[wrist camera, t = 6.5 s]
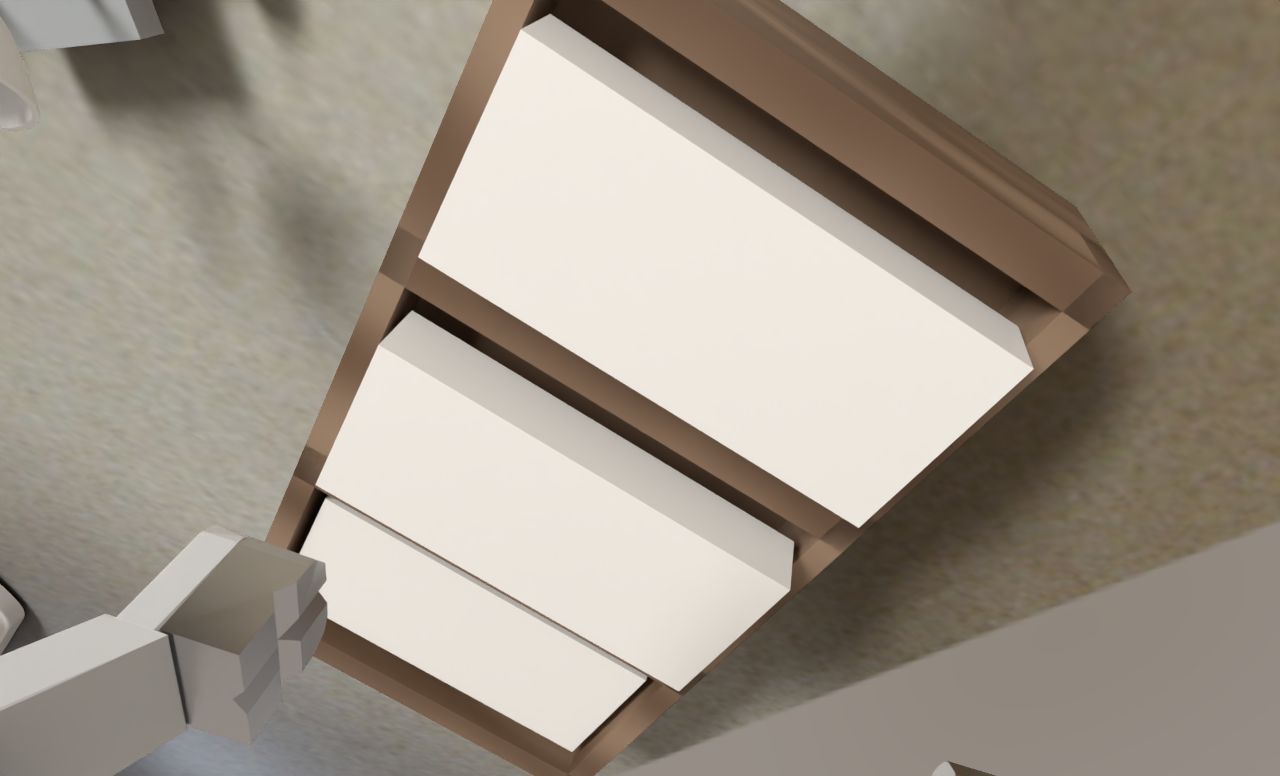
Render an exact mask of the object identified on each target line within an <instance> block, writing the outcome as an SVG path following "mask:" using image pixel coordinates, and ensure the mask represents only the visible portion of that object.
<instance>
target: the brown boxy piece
mask: <svg viewBox="0 0 1280 776" xmlns="http://www.w3.org/2000/svg"><path fill="white" fill-rule="evenodd" d="M549 14H551V15H553V16H554V17H556V18H557V19H559V20H560V21H562V22H563V23H565V24H566V25H568V26H569V27H571V28H572V29H574V30H575V31H577V32H578V33H580V34H581V35H583V36H584V37H586V38H587V39H589V40H590V41H592V42H593V43H595V44H596V45H598V46H599V47H601V48H602V49H604V50H605V51H607V52H608V53H610V54H611V55H613V56H614V57H616V58H617V59H619V60H620V61H622V62H623V63H625V64H626V65H628V66H629V67H631V68H632V69H634V70H635V71H637V72H638V73H640V74H641V75H643V76H644V77H646V78H647V79H649V80H650V81H652V82H653V83H655V84H656V85H658V86H659V87H661V88H662V89H664V90H665V91H667V92H668V93H670V94H671V95H673V96H674V97H676V98H677V99H679V100H680V101H682V102H683V103H685V104H686V105H688V106H689V107H691V108H692V109H694V110H695V111H697V112H698V113H700V114H701V115H703V116H704V117H706V118H707V119H709V120H710V121H711V122H713V123H714V124H716V125H717V126H719V127H720V128H722V129H723V130H725V131H726V132H728V133H729V134H731V135H732V136H734V137H735V138H737V139H738V140H740V141H741V142H743V143H744V144H746V145H747V146H749V147H750V148H752V149H753V150H755V151H756V152H758V153H759V154H761V155H762V156H764V157H765V158H767V159H768V160H770V161H771V162H773V163H774V164H776V165H777V166H779V167H780V168H782V169H783V170H785V171H786V172H788V173H789V174H791V175H792V176H794V177H795V178H797V179H798V180H800V181H801V182H803V183H804V184H806V185H807V186H809V187H810V188H812V189H813V190H815V191H816V192H818V193H819V194H821V195H822V196H824V197H825V198H827V199H828V200H830V201H831V202H833V203H834V204H836V205H837V206H839V207H840V208H842V209H843V210H845V211H846V212H848V213H849V214H851V215H852V216H854V217H855V218H857V219H858V220H860V221H861V222H863V223H864V224H866V225H867V226H869V227H870V228H872V229H873V230H875V231H876V232H878V233H879V234H881V235H882V236H884V237H885V238H887V239H888V240H890V241H891V242H893V243H894V244H896V245H897V246H899V247H900V248H902V249H903V250H905V251H906V252H908V253H909V254H911V255H912V256H914V257H915V258H917V259H918V260H920V261H921V262H922V263H924V264H925V265H927V266H928V267H930V268H931V269H933V270H934V271H936V272H937V273H939V274H940V275H942V276H943V277H945V278H946V279H948V280H949V281H951V282H952V283H954V284H955V285H957V286H958V287H960V288H961V289H963V290H964V291H966V292H967V293H969V294H970V295H972V296H973V297H975V298H976V299H978V300H979V301H981V302H982V303H984V304H985V305H987V306H988V307H990V308H991V309H993V310H994V311H996V312H997V313H999V314H1000V315H1002V316H1003V317H1005V318H1006V319H1008V320H1009V321H1011V322H1012V323H1014V324H1015V325H1017V326H1018V327H1019V330H1020V333H1021V335H1022V338H1023V341H1024V344H1025V346H1026V349H1027V352H1028V355H1029V357H1030V360H1031V363H1032V366H1033V368H1034V369H1033V370H1032V371H1031V372H1030V373H1029V374H1028V375H1027V376H1025V377H1024V378H1023V379H1022V380H1021V381H1020V382H1019V383H1018V384H1017V385H1016V386H1014V387H1013V388H1012V389H1011V390H1010V391H1009V392H1008V393H1007V394H1006V395H1005V396H1003V397H1002V398H1001V399H1000V400H999V401H998V402H997V403H996V404H995V405H994V406H992V407H991V408H990V409H989V410H988V411H987V412H986V413H985V414H984V415H983V416H981V417H980V418H979V419H978V420H977V421H976V422H975V423H974V424H973V425H972V426H970V427H969V428H968V429H967V430H966V431H965V432H964V433H963V434H962V435H961V436H959V437H958V438H957V439H956V440H955V441H954V442H953V443H952V444H951V445H950V446H948V447H947V448H946V449H945V450H944V451H943V452H942V453H941V454H940V455H939V456H937V457H936V458H935V459H934V460H933V461H932V462H931V463H930V464H929V465H928V466H926V467H925V468H924V469H923V470H922V471H921V472H920V473H919V474H918V475H917V476H915V477H914V478H913V479H912V480H911V481H910V482H909V483H908V484H907V485H906V486H904V487H903V488H902V489H901V490H900V491H899V492H898V493H897V494H896V495H895V496H893V497H892V498H891V499H890V500H889V501H888V502H887V503H886V504H885V505H884V506H882V507H881V508H880V509H879V510H878V511H877V512H876V513H875V514H874V515H873V516H871V517H870V518H869V519H868V520H867V521H866V522H865V523H864V524H863V525H862V526H860V527H859V528H858V527H856V526H855V525H853V524H851V523H850V522H848V521H847V520H845V519H843V518H842V517H840V516H838V515H837V514H835V513H834V512H832V511H830V510H829V509H827V508H825V507H824V506H822V505H821V504H819V503H817V502H816V501H814V500H812V499H811V498H809V497H808V496H806V495H804V494H803V493H801V492H799V491H798V490H796V489H795V488H793V487H791V486H790V485H788V484H786V483H785V482H783V481H781V480H780V479H778V478H777V477H775V476H773V475H772V474H770V473H768V472H767V471H765V470H764V469H762V468H760V467H759V466H757V465H755V464H754V463H752V462H751V461H749V460H747V459H746V458H744V457H742V456H741V455H739V454H738V453H736V452H734V451H733V450H731V449H729V448H728V447H726V446H725V445H723V444H721V443H720V442H718V441H716V440H715V439H713V438H712V437H710V436H708V435H707V434H705V433H703V432H702V431H700V430H698V429H697V428H695V427H694V426H692V425H690V424H689V423H687V422H685V421H684V420H682V419H681V418H679V417H677V416H676V415H674V414H672V413H671V412H669V411H668V410H666V409H664V408H663V407H661V406H659V405H658V404H656V403H655V402H653V401H651V400H650V399H648V398H646V397H645V396H643V395H642V394H640V393H638V392H637V391H635V390H633V389H632V388H630V387H629V386H627V385H625V384H624V383H622V382H620V381H619V380H617V379H615V378H614V377H612V376H611V375H609V374H607V373H606V372H604V371H602V370H601V369H599V368H598V367H596V366H594V365H593V364H591V363H589V362H588V361H586V360H585V359H583V358H581V357H580V356H578V355H576V354H575V353H573V352H572V351H570V350H568V349H567V348H565V347H563V346H562V345H560V344H559V343H557V342H555V341H554V340H552V339H550V338H549V337H547V336H546V335H544V334H542V333H541V332H539V331H537V330H536V329H534V328H532V327H531V326H529V325H528V324H526V323H524V322H523V321H521V320H519V319H518V318H516V317H515V316H513V315H511V314H510V313H508V312H506V311H505V310H503V309H502V308H500V307H498V306H497V305H495V304H493V303H492V302H490V301H489V300H487V299H485V298H484V297H482V296H480V295H479V294H477V293H476V292H474V291H472V290H471V289H469V288H467V287H466V286H464V285H463V284H461V283H459V282H458V281H456V280H454V279H453V278H451V277H449V276H448V275H446V274H445V273H443V272H441V271H440V270H438V269H436V268H435V267H433V266H432V265H430V264H428V263H427V262H425V261H423V260H422V259H420V258H419V257H418V256H419V254H420V252H421V249H422V247H423V245H424V243H425V240H426V238H427V236H428V234H429V232H430V229H431V227H432V225H433V223H434V220H435V218H436V216H437V214H438V212H439V209H440V207H441V205H442V203H443V201H444V198H445V196H446V194H447V192H448V189H449V187H450V185H451V183H452V181H453V178H454V176H455V174H456V172H457V169H458V167H459V165H460V163H461V161H462V158H463V156H464V154H465V152H466V149H467V147H468V145H469V143H470V141H471V138H472V136H473V134H474V132H475V130H476V127H477V125H478V123H479V121H480V118H481V116H482V114H483V112H484V110H485V107H486V105H487V103H488V101H489V98H490V96H491V94H492V92H493V90H494V87H495V85H496V83H497V81H498V78H499V76H500V74H501V72H502V70H503V67H504V65H505V63H506V61H507V59H508V56H509V54H510V52H511V50H512V47H513V45H514V43H515V41H516V39H517V36H518V34H519V32H520V30H521V29H522V28H524V27H526V26H528V25H530V24H532V23H534V22H536V21H538V20H540V19H542V18H543V17H545V16H547V15H549ZM1130 293H1131V290H1130V289H1129V287H1128V285H1127V284H1126V282H1125V281H1124V279H1123V278H1122V276H1121V275H1120V273H1119V272H1118V270H1117V269H1116V267H1115V266H1114V264H1113V263H1112V261H1111V259H1110V258H1109V256H1108V255H1107V253H1106V252H1105V250H1104V249H1103V247H1102V246H1101V244H1100V243H1099V241H1098V240H1097V238H1096V236H1095V235H1094V233H1093V232H1092V230H1091V229H1090V227H1089V226H1088V224H1087V223H1086V221H1085V220H1084V218H1083V217H1082V215H1081V214H1080V212H1079V210H1078V209H1077V207H1075V206H1074V205H1072V204H1071V203H1070V202H1068V201H1067V200H1065V199H1064V198H1062V197H1061V196H1059V195H1058V194H1057V193H1055V192H1054V191H1052V190H1051V189H1049V188H1048V187H1047V186H1045V185H1044V184H1042V183H1041V182H1039V181H1038V180H1037V179H1035V178H1034V177H1032V176H1031V175H1029V174H1028V173H1026V172H1025V171H1024V170H1022V169H1021V168H1019V167H1018V166H1016V165H1015V164H1014V163H1012V162H1011V161H1009V160H1008V159H1006V158H1005V157H1004V156H1002V155H1001V154H999V153H998V152H996V151H995V150H993V149H992V148H991V147H989V146H988V145H986V144H985V143H983V142H982V141H981V140H979V139H978V138H976V137H975V136H973V135H972V134H971V133H969V132H968V131H966V130H965V129H963V128H962V127H960V126H959V125H958V124H956V123H955V122H953V121H952V120H950V119H949V118H948V117H946V116H945V115H943V114H942V113H940V112H939V111H938V110H936V109H935V108H933V107H932V106H930V105H929V104H927V103H926V102H925V101H923V100H922V99H920V98H919V97H917V96H916V95H915V94H913V93H912V92H910V91H909V90H907V89H906V88H904V87H903V86H902V85H900V84H899V83H897V82H896V81H894V80H893V79H892V78H890V77H889V76H887V75H886V74H884V73H883V72H882V71H880V70H879V69H877V68H876V67H874V66H873V65H871V64H870V63H869V62H867V61H866V60H864V59H863V58H861V57H860V56H859V55H857V54H856V53H854V52H853V51H851V50H850V49H849V48H847V47H846V46H844V45H843V44H841V43H840V42H838V41H837V40H836V39H834V38H833V37H831V36H830V35H828V34H827V33H826V32H824V31H823V30H821V29H820V28H818V27H817V26H816V25H814V24H813V23H811V22H810V21H808V20H807V19H805V18H804V17H803V16H801V15H800V14H798V13H797V12H795V11H794V10H793V9H791V8H790V7H788V6H787V5H785V4H784V3H783V2H781V1H780V0H493V2H492V4H491V6H490V9H489V11H488V13H487V16H486V18H485V21H484V23H483V25H482V28H481V30H480V32H479V35H478V37H477V40H476V42H475V44H474V47H473V49H472V51H471V54H470V56H469V59H468V61H467V63H466V66H465V68H464V70H463V73H462V75H461V78H460V80H459V82H458V85H457V87H456V89H455V92H454V94H453V96H452V99H451V101H450V104H449V106H448V108H447V111H446V113H445V115H444V118H443V120H442V123H441V125H440V127H439V130H438V132H437V134H436V137H435V139H434V142H433V144H432V146H431V149H430V151H429V153H428V156H427V158H426V161H425V163H424V165H423V168H422V170H421V172H420V175H419V177H418V180H417V182H416V184H415V187H414V189H413V191H412V194H411V196H410V198H409V201H408V203H407V206H406V208H405V210H404V213H403V215H402V217H401V220H400V222H399V225H398V227H397V229H396V232H395V234H394V236H393V239H392V241H391V244H390V246H389V248H388V251H387V253H386V255H385V258H384V260H383V263H382V265H381V267H380V270H379V272H378V274H377V277H376V279H375V282H374V284H373V286H372V289H371V291H370V293H369V296H368V298H367V301H366V303H365V305H364V308H363V310H362V312H361V315H360V317H359V319H358V322H357V324H356V327H355V329H354V331H353V334H352V336H351V338H350V341H349V343H348V346H347V348H346V350H345V353H344V355H343V357H342V360H341V362H340V365H339V367H338V369H337V372H336V374H335V376H334V379H333V381H332V384H331V386H330V388H329V391H328V393H327V395H326V398H325V400H324V403H323V405H322V407H321V410H320V412H319V414H318V417H317V419H316V421H315V424H314V426H313V429H312V431H311V433H310V436H309V438H308V440H307V443H306V445H305V448H304V450H303V452H302V455H301V457H300V459H299V462H298V464H297V467H296V469H295V471H294V474H293V476H292V478H291V481H290V483H289V486H288V488H287V490H286V493H285V495H284V497H283V500H282V502H281V505H280V507H279V509H278V512H277V514H276V516H275V519H274V521H273V524H272V526H271V528H270V531H269V533H268V535H267V538H266V540H265V542H267V543H270V544H272V545H275V546H278V547H281V548H284V549H287V550H290V551H293V552H296V553H298V554H299V553H300V551H301V549H302V547H303V545H304V543H305V541H306V538H307V536H308V534H309V532H310V530H311V528H312V526H313V524H314V521H315V519H316V517H317V515H318V513H319V511H320V509H321V506H322V504H323V502H324V500H325V498H326V497H327V496H328V495H329V496H331V497H333V498H334V499H336V500H338V501H340V502H341V503H343V504H345V505H347V506H348V507H350V508H352V509H354V510H355V511H357V512H359V513H361V514H363V515H364V516H366V517H368V518H370V519H371V520H373V521H375V522H377V523H378V524H380V525H382V526H384V527H385V528H387V529H389V530H391V531H392V532H394V533H396V534H398V535H400V536H401V537H403V538H405V539H407V540H408V541H410V542H412V543H414V544H415V545H417V546H419V547H421V548H422V549H424V550H426V551H428V552H429V553H431V554H433V555H435V556H437V557H438V558H440V559H442V560H444V561H445V562H447V563H449V564H451V565H452V566H454V567H456V568H458V569H459V570H461V571H463V572H465V573H466V574H468V575H470V576H472V577H474V578H475V579H477V580H479V581H481V582H482V583H484V584H486V585H488V586H489V587H491V588H493V589H495V590H496V591H498V592H500V593H502V594H503V595H505V596H507V597H509V598H511V599H512V600H514V601H516V602H518V603H519V604H521V605H523V606H525V607H526V608H528V609H530V610H532V611H533V612H535V613H537V614H539V615H540V616H542V617H544V618H546V619H548V620H549V621H551V622H553V623H555V624H556V625H558V626H560V627H562V628H563V629H565V630H567V631H569V632H570V633H572V634H574V635H576V636H577V637H579V638H581V639H583V640H585V641H586V642H588V643H590V644H592V645H593V646H595V647H597V648H599V649H600V650H602V651H604V652H606V653H607V654H609V655H611V656H613V657H614V658H616V659H618V660H620V661H622V662H623V663H625V664H627V665H629V666H630V667H632V668H634V669H636V670H637V671H639V672H641V673H643V674H644V675H646V676H647V679H646V681H645V682H644V683H643V684H642V685H641V686H640V687H639V688H638V689H637V690H636V691H635V692H634V693H633V694H632V695H631V696H630V697H629V698H628V699H627V700H625V701H624V702H623V703H622V704H621V705H620V706H619V707H618V708H617V709H616V710H615V711H614V712H613V713H612V714H611V715H610V716H609V717H608V718H607V719H606V720H605V721H604V722H603V723H602V724H601V725H600V726H599V727H597V728H596V729H595V730H594V731H593V732H592V733H591V734H590V735H589V736H588V737H587V738H586V739H585V740H584V741H583V742H582V743H581V744H580V745H579V746H578V747H577V748H576V749H575V750H574V751H573V752H571V751H569V750H567V749H566V748H564V747H562V746H560V745H558V744H556V743H555V742H553V741H551V740H549V739H547V738H545V737H544V736H542V735H540V734H538V733H536V732H535V731H533V730H531V729H529V728H527V727H525V726H524V725H522V724H520V723H518V722H516V721H514V720H513V719H511V718H509V717H507V716H505V715H504V714H502V713H500V712H498V711H496V710H494V709H493V708H491V707H489V706H487V705H485V704H483V703H482V702H480V701H478V700H476V699H474V698H472V697H471V696H469V695H467V694H465V693H463V692H462V691H460V690H458V689H456V688H454V687H452V686H451V685H449V684H447V683H445V682H443V681H441V680H440V679H438V678H436V677H434V676H432V675H431V674H429V673H427V672H425V671H423V670H421V669H420V668H418V667H416V666H414V665H412V664H410V663H409V662H407V661H405V660H403V659H401V658H399V657H398V656H396V655H394V654H392V653H390V652H389V651H387V650H385V649H383V648H381V647H379V646H378V645H376V644H374V643H372V642H370V641H368V640H367V639H365V638H363V637H361V636H359V635H358V634H356V633H354V632H352V631H350V630H348V629H347V628H345V627H343V626H341V625H339V624H337V623H336V622H334V621H332V620H330V619H328V618H327V621H326V625H325V630H324V633H323V635H322V638H321V640H320V642H319V644H318V647H317V649H316V651H315V653H314V655H313V656H314V657H316V658H318V659H320V660H322V661H324V662H325V663H327V664H329V665H331V666H333V667H335V668H337V669H338V670H340V671H342V672H344V673H346V674H348V675H349V676H351V677H353V678H355V679H357V680H359V681H361V682H362V683H364V684H366V685H368V686H370V687H372V688H374V689H375V690H377V691H379V692H381V693H383V694H385V695H386V696H388V697H390V698H392V699H394V700H396V701H398V702H399V703H401V704H403V705H405V706H407V707H409V708H410V709H412V710H414V711H416V712H418V713H420V714H422V715H423V716H425V717H427V718H429V719H431V720H433V721H435V722H436V723H438V724H440V725H442V726H444V727H446V728H447V729H449V730H451V731H453V732H455V733H457V734H459V735H460V736H462V737H464V738H466V739H468V740H470V741H472V742H473V743H475V744H477V745H479V746H481V747H483V748H484V749H486V750H488V751H490V752H492V753H494V754H496V755H497V756H499V757H501V758H503V759H505V760H507V761H509V762H510V763H512V764H514V765H516V766H518V767H520V768H521V769H523V770H525V771H527V772H529V773H531V774H533V775H534V776H594V775H595V774H596V773H597V772H599V771H600V770H601V769H602V768H603V767H604V766H605V765H606V764H607V763H609V762H610V761H611V760H612V759H613V758H614V757H615V756H616V755H617V754H619V753H620V752H621V751H622V750H623V749H624V748H625V747H626V746H627V745H629V744H630V743H631V742H632V741H633V740H634V739H635V738H636V737H637V736H639V735H640V734H641V733H642V732H643V731H644V730H645V729H646V728H648V727H649V726H650V725H651V724H652V723H653V722H654V721H655V720H656V719H658V718H659V717H660V716H661V715H662V714H663V713H664V712H665V711H666V710H668V709H669V708H670V707H671V706H672V705H673V704H674V703H675V702H676V701H678V700H679V699H680V698H681V697H682V696H683V695H684V694H685V693H686V692H688V691H689V690H690V689H691V688H692V687H693V686H694V685H695V684H696V683H698V682H699V681H700V680H701V679H702V678H703V677H704V676H705V675H706V674H708V673H709V672H710V671H711V670H712V669H713V668H714V667H715V666H716V665H718V664H719V663H720V662H721V661H722V660H723V659H724V658H725V657H726V656H728V655H729V654H730V653H731V652H732V651H733V650H734V649H735V648H737V647H738V646H739V645H740V644H741V643H742V642H743V641H744V640H745V639H747V638H748V637H749V636H750V635H751V634H752V633H753V632H754V631H755V630H757V629H758V628H759V627H760V626H761V625H762V624H763V623H764V622H765V621H767V620H768V619H769V618H770V617H771V616H772V615H773V614H774V613H775V612H777V611H778V610H779V609H780V608H781V607H782V606H783V605H784V604H785V603H787V602H788V601H789V600H790V599H791V598H792V597H793V596H794V595H795V594H797V593H798V592H799V591H800V590H801V589H802V588H803V587H804V586H805V585H807V584H808V583H809V582H810V581H811V580H812V579H813V578H814V577H815V576H817V575H818V574H819V573H820V572H821V571H822V570H823V569H824V568H826V567H827V566H828V565H829V564H830V563H831V562H832V561H833V560H834V559H836V558H837V557H838V556H839V555H840V554H841V553H842V552H843V551H844V550H846V549H847V548H848V547H849V546H850V545H851V544H852V543H853V542H854V541H856V540H857V539H858V538H859V537H860V536H861V535H862V534H863V533H864V532H866V531H867V530H868V529H869V528H870V527H871V526H872V525H873V524H874V523H876V522H877V521H878V520H879V519H880V518H881V517H882V516H883V515H884V514H886V513H887V512H888V511H889V510H890V509H891V508H892V507H893V506H894V505H896V504H897V503H898V502H899V501H900V500H901V499H902V498H903V497H905V496H906V495H907V494H908V493H909V492H910V491H911V490H912V489H913V488H915V487H916V486H917V485H918V484H919V483H920V482H921V481H922V480H923V479H925V478H926V477H927V476H928V475H929V474H930V473H931V472H932V471H933V470H935V469H936V468H937V467H938V466H939V465H940V464H941V463H942V462H943V461H945V460H946V459H947V458H948V457H949V456H950V455H951V454H952V453H953V452H955V451H956V450H957V449H958V448H959V447H960V446H961V445H962V444H963V443H965V442H966V441H967V440H968V439H969V438H970V437H971V436H972V435H973V434H975V433H976V432H977V431H978V430H979V429H980V428H981V427H982V426H983V425H985V424H986V423H987V422H988V421H989V420H990V419H991V418H992V417H994V416H995V415H996V414H997V413H998V412H999V411H1000V410H1001V409H1002V408H1004V407H1005V406H1006V405H1007V404H1008V403H1009V402H1010V401H1011V400H1012V399H1014V398H1015V397H1016V396H1017V395H1018V394H1019V393H1020V392H1021V391H1022V390H1024V389H1025V388H1026V387H1027V386H1028V385H1029V384H1030V383H1031V382H1032V381H1034V380H1035V379H1036V378H1037V377H1038V376H1039V375H1040V374H1041V373H1042V372H1044V371H1045V370H1046V369H1047V368H1048V367H1049V366H1050V365H1051V364H1052V363H1054V362H1055V361H1056V360H1057V359H1058V358H1059V357H1060V356H1061V355H1062V354H1064V353H1065V352H1066V351H1067V350H1068V349H1069V348H1070V347H1071V346H1072V345H1074V344H1075V343H1076V342H1077V341H1078V340H1079V339H1080V338H1081V337H1083V336H1084V335H1085V334H1086V333H1087V332H1088V331H1089V330H1090V329H1091V328H1093V327H1094V326H1095V325H1096V324H1097V323H1098V322H1099V321H1100V320H1101V319H1103V318H1104V317H1105V316H1106V315H1107V314H1108V313H1109V312H1110V311H1111V310H1113V309H1114V308H1115V307H1116V306H1117V305H1118V304H1119V303H1120V302H1121V301H1123V300H1124V299H1125V298H1126V297H1127V296H1128V295H1129V294H1130ZM411 311H414V312H416V313H417V314H419V315H421V316H422V317H424V318H425V319H427V320H429V321H430V322H432V323H434V324H435V325H437V326H439V327H440V328H442V329H444V330H445V331H447V332H449V333H450V334H452V335H454V336H455V337H457V338H459V339H460V340H462V341H464V342H465V343H467V344H468V345H470V346H472V347H473V348H475V349H477V350H478V351H480V352H482V353H483V354H485V355H487V356H488V357H490V358H492V359H493V360H495V361H497V362H498V363H500V364H502V365H503V366H505V367H506V368H508V369H510V370H511V371H513V372H515V373H516V374H518V375H520V376H521V377H523V378H525V379H526V380H528V381H530V382H531V383H533V384H535V385H536V386H538V387H540V388H541V389H543V390H544V391H546V392H548V393H549V394H551V395H553V396H554V397H556V398H558V399H559V400H561V401H563V402H564V403H566V404H568V405H569V406H571V407H573V408H574V409H576V410H578V411H579V412H581V413H582V414H584V415H586V416H587V417H589V418H591V419H592V420H594V421H596V422H597V423H599V424H601V425H602V426H604V427H606V428H607V429H609V430H611V431H612V432H614V433H616V434H617V435H619V436H620V437H622V438H624V439H625V440H627V441H629V442H630V443H632V444H634V445H635V446H637V447H639V448H640V449H642V450H644V451H645V452H647V453H649V454H650V455H652V456H654V457H655V458H657V459H658V460H660V461H662V462H663V463H665V464H667V465H668V466H670V467H672V468H673V469H675V470H677V471H678V472H680V473H682V474H683V475H685V476H687V477H688V478H690V479H692V480H693V481H695V482H696V483H698V484H700V485H701V486H703V487H705V488H706V489H708V490H710V491H711V492H713V493H715V494H716V495H718V496H720V497H721V498H723V499H725V500H726V501H728V502H730V503H731V504H733V505H734V506H736V507H738V508H739V509H741V510H743V511H744V512H746V513H748V514H749V515H751V516H753V517H754V518H756V519H758V520H759V521H761V522H763V523H764V524H766V525H768V526H769V527H771V528H772V529H774V530H776V531H777V532H779V533H781V534H782V535H784V536H786V537H787V538H789V539H791V540H792V541H794V550H793V562H792V574H791V587H790V591H789V592H788V593H787V594H786V595H785V596H783V597H782V598H781V599H780V600H779V601H778V602H777V603H776V604H775V605H774V606H772V607H771V608H770V609H769V610H768V611H767V612H766V613H765V614H764V615H763V616H761V617H760V618H759V619H758V620H757V621H756V622H755V623H754V624H753V625H752V626H750V627H749V628H748V629H747V630H746V631H745V632H744V633H743V634H742V635H741V636H739V637H738V638H737V639H736V640H735V641H734V642H733V643H732V644H731V645H730V646H728V647H727V648H726V649H725V650H724V651H723V652H722V653H721V654H720V655H719V656H717V657H716V658H715V659H714V660H713V661H712V662H711V663H710V664H709V665H708V666H706V667H705V668H704V669H703V670H702V671H701V672H700V673H699V674H698V675H697V676H695V677H694V678H693V679H692V680H691V681H690V682H689V683H688V684H687V685H685V686H684V687H683V688H682V689H681V690H680V691H677V690H675V689H674V688H672V687H670V686H668V685H667V684H665V683H663V682H661V681H660V680H658V679H656V678H654V677H653V676H651V675H649V674H647V673H646V672H644V671H642V670H640V669H638V668H637V667H635V666H633V665H631V664H630V663H628V662H626V661H624V660H623V659H621V658H619V657H617V656H616V655H614V654H612V653H610V652H609V651H607V650H605V649H603V648H601V647H600V646H598V645H596V644H594V643H593V642H591V641H589V640H587V639H586V638H584V637H582V636H580V635H579V634H577V633H575V632H573V631H572V630H570V629H568V628H566V627H565V626H563V625H561V624H559V623H557V622H556V621H554V620H552V619H550V618H549V617H547V616H545V615H543V614H542V613H540V612H538V611H536V610H535V609H533V608H531V607H529V606H528V605H526V604H524V603H522V602H521V601H519V600H517V599H515V598H513V597H512V596H510V595H508V594H506V593H505V592H503V591H501V590H499V589H498V588H496V587H494V586H492V585H491V584H489V583H487V582H485V581H484V580H482V579H480V578H478V577H477V576H475V575H473V574H471V573H469V572H468V571H466V570H464V569H462V568H461V567H459V566H457V565H455V564H454V563H452V562H450V561H448V560H447V559H445V558H443V557H441V556H440V555H438V554H436V553H434V552H433V551H431V550H429V549H427V548H425V547H424V546H422V545H420V544H418V543H417V542H415V541H413V540H411V539H410V538H408V537H406V536H404V535H403V534H401V533H399V532H397V531H396V530H394V529H392V528H390V527H388V526H387V525H385V524H383V523H381V522H380V521H378V520H376V519H374V518H373V517H371V516H369V515H367V514H366V513H364V512H362V511H360V510H359V509H357V508H355V507H353V506H352V505H350V504H348V503H346V502H344V501H343V500H341V499H339V498H337V497H336V496H334V495H332V494H330V493H329V492H327V491H325V490H323V489H322V488H320V487H318V486H316V482H317V480H318V478H319V476H320V473H321V471H322V469H323V467H324V465H325V462H326V460H327V458H328V456H329V453H330V451H331V449H332V447H333V445H334V442H335V440H336V438H337V436H338V433H339V431H340V429H341V427H342V425H343V422H344V420H345V418H346V416H347V414H348V411H349V409H350V407H351V405H352V402H353V400H354V398H355V396H356V394H357V391H358V389H359V387H360V385H361V382H362V380H363V378H364V376H365V374H366V371H367V369H368V367H369V365H370V362H371V360H372V358H373V356H374V354H375V351H376V349H377V347H378V345H379V344H380V343H381V342H382V341H383V340H384V339H385V338H386V337H387V336H388V334H389V333H390V332H391V331H392V330H393V329H394V328H395V327H396V326H397V325H398V324H399V323H400V322H401V321H402V320H403V319H404V318H405V317H406V316H407V315H408V314H409V313H410V312H411Z"/></svg>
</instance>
